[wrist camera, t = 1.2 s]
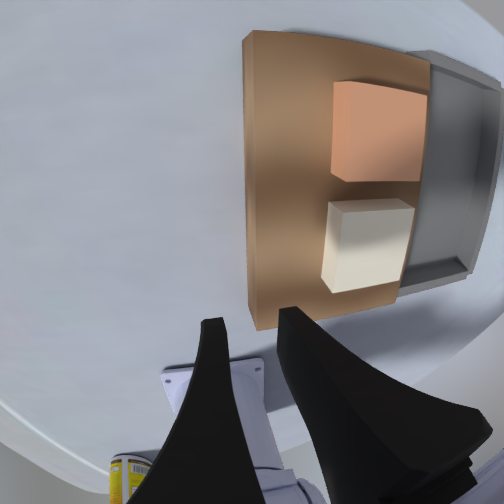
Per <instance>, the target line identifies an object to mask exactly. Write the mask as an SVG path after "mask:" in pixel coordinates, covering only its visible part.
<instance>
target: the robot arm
mask: <svg viewBox="0 0 504 504" xmlns="http://www.w3.org/2000/svg"><path fill="white" fill-rule="evenodd" d="M277 354H278V358H279V361H280V365H281V368H282V371H283V374H284V377H285V380H286V382H287V384H288V386H289V389H290V391H291V393H292V395H293V398H294V400H295V402H296V404H297V406H298V409H299V411H300V413H301V415H302V417H303V419H304V422H305V424H306V426H307V428H308V431H309V433H310V436H311V439H312V441H313V445H314V448H315V451H316V454H317V457H318V460H319V463H320V466H321V469H322V473H323V476H324V480H325V483H326V487H327V490H328V494H329V498H330V501H331V504H504V448H503V449H502V450H501V451H500V452H499V453H498V454H497V455H495V456H494V457H493V458H492V459H491V460H489V461H488V462H487V463H486V464H484V465H483V466H482V467H481V468H479V469H478V470H477V471H475V472H474V473H473V474H472V472H471V471H470V469H469V467H471V466H472V461H471V459H470V458H469V456H470V455H471V454H472V453H473V452H474V451H476V450H477V449H478V448H479V447H480V446H481V445H482V444H483V443H484V442H485V441H486V440H487V439H488V438H489V437H490V435H491V434H492V431H493V429H492V427H491V426H490V424H489V423H488V422H487V420H486V419H485V417H484V416H483V415H482V413H481V412H480V411H479V410H478V409H475V408H471V407H467V406H463V405H459V404H455V403H451V402H448V401H445V400H442V399H439V398H436V397H433V396H430V395H428V394H425V393H423V392H420V391H418V390H416V389H414V388H411V387H409V386H407V385H405V384H403V383H401V382H399V381H397V380H395V379H393V378H391V377H389V376H388V375H386V374H384V373H382V372H381V371H379V370H377V369H376V368H374V367H372V366H371V365H369V364H368V363H366V362H365V361H363V360H362V359H360V358H359V357H358V356H356V355H355V354H353V353H352V352H351V351H349V350H348V349H347V348H345V347H344V346H343V345H342V344H340V343H339V342H338V341H337V340H335V339H334V338H333V337H332V336H330V335H329V334H328V333H327V332H326V331H324V330H323V329H322V328H321V327H320V326H319V325H318V324H316V323H315V322H314V321H313V320H312V319H311V318H310V317H309V316H307V315H306V314H305V313H304V312H303V311H302V310H301V309H300V308H298V307H297V306H293V307H286V308H280V309H279V317H278V336H277ZM257 367H258V368H257ZM160 377H161V380H162V383H163V386H164V388H165V391H166V394H167V396H168V399H169V402H170V404H171V407H172V409H173V412H174V414H175V422H174V424H173V426H172V428H171V431H170V433H169V435H168V437H167V439H166V441H165V443H164V445H163V447H162V449H161V450H160V452H159V454H158V456H157V457H156V459H155V461H154V462H153V464H152V466H151V468H150V469H149V471H148V473H147V474H146V476H145V477H144V479H143V480H142V482H141V483H140V485H139V486H138V488H137V489H136V490H135V492H134V493H133V495H132V496H131V497H130V499H129V500H128V501H127V503H126V504H327V503H326V501H325V499H324V497H323V495H322V494H321V492H320V491H319V489H318V488H317V487H316V486H315V485H313V484H311V483H309V482H308V481H307V480H305V479H303V478H299V479H296V478H295V475H294V472H293V469H287V470H285V469H284V466H283V463H282V460H281V457H280V454H279V451H278V448H277V445H276V442H275V438H274V435H273V432H272V429H271V426H270V423H269V419H268V416H267V413H266V410H265V406H264V403H263V400H264V361H263V359H262V358H253V359H247V360H241V361H234V362H230V360H229V349H228V339H227V331H226V327H225V323H224V320H223V317H219V318H212V319H204V320H203V321H202V322H201V334H200V342H199V347H198V352H197V357H196V361H195V365H194V367H189V368H180V369H170V370H163V371H162V372H161V373H160ZM167 379H169V380H167Z"/></svg>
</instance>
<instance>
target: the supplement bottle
mask: <svg viewBox="0 0 504 504" xmlns="http://www.w3.org/2000/svg"><path fill="white" fill-rule="evenodd" d="M151 466H152V463H151V462H150V461H149V460H147V459H145V458H142V457H138V456H133V455H119V456H115V457H113V458H112V459H111V460H110V504H126V503H127V501H128V500H129V499H130V497H131V496H132V495H133V493H134V492H135V490H136V489H137V488H138V486H139V485H140V483H141V482H142V480H143V479H144V477H145V476H146V474H147V473H148V471H149V469H150V468H151Z"/></svg>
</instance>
